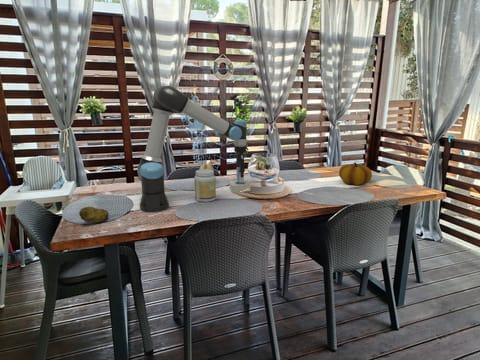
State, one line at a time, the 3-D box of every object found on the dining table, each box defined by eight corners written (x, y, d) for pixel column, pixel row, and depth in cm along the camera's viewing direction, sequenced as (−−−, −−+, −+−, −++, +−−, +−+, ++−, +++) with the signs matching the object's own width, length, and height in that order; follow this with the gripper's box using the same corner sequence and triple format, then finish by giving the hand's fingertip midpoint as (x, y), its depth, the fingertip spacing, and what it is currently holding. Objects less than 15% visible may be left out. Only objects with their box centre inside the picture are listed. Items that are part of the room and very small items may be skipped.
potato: (111, 222, 155) (109, 206, 153) (81, 227, 149) (79, 211, 147) (108, 216, 162) (106, 201, 160) (79, 221, 156) (77, 205, 154)
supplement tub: (220, 198, 191) (219, 170, 187) (206, 204, 182) (206, 174, 177) (204, 194, 198) (203, 167, 194) (190, 199, 188) (189, 171, 184)
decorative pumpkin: (367, 189, 212) (370, 166, 208) (334, 184, 223) (335, 162, 219) (373, 182, 229) (376, 161, 225) (341, 177, 240) (343, 157, 236)
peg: (243, 190, 207) (243, 169, 203) (237, 190, 206) (237, 169, 203) (242, 188, 211) (242, 167, 207) (236, 188, 210) (236, 167, 206)
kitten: (204, 179, 231) (204, 159, 227) (217, 181, 228) (217, 160, 224) (195, 185, 217) (194, 163, 213) (209, 186, 214) (208, 164, 210)
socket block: (251, 192, 204) (251, 185, 203) (232, 192, 202) (232, 185, 201) (247, 186, 215) (247, 180, 214) (229, 187, 213) (229, 180, 212)
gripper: (250, 148, 190) (249, 184, 196) (243, 142, 213) (242, 174, 219) (237, 148, 189) (237, 184, 195) (231, 142, 212) (231, 175, 218)
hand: (240, 179), depth 207 cm, fingers open, 11 cm apart
